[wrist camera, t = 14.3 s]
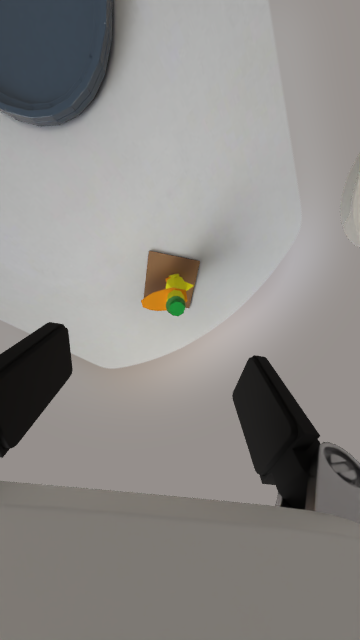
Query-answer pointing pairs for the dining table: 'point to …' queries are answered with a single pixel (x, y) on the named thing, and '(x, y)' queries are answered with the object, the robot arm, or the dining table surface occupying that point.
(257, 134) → the dining table surface
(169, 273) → the coaster
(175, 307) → the toy figure
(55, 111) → the plate
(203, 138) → the dining table surface
